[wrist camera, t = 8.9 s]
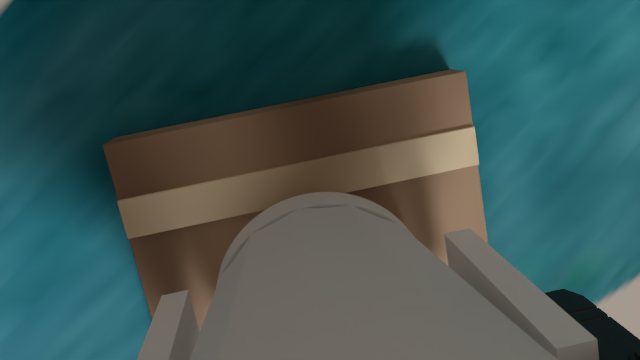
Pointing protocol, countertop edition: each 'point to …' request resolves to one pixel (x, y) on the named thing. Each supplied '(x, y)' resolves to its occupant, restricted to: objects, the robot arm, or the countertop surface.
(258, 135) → the striped wooden coaster
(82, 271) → the countertop surface
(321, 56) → the countertop surface
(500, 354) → the cup
